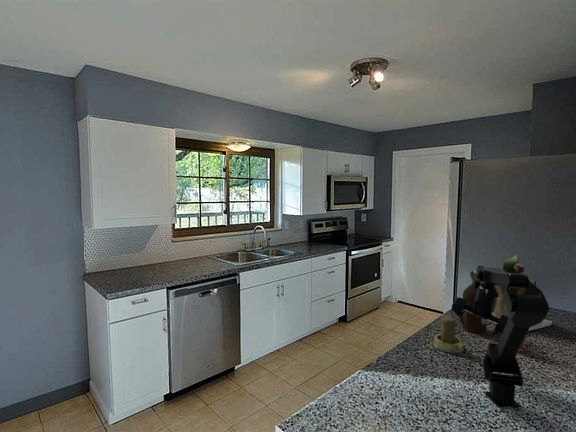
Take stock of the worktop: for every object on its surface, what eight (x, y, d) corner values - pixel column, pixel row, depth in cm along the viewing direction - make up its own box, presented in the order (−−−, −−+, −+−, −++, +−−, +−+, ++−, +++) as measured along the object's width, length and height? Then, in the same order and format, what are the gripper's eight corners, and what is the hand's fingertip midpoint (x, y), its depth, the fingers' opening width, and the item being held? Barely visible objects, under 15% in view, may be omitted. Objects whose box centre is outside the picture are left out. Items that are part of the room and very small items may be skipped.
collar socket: (469, 353, 127) (469, 345, 127) (441, 353, 127) (441, 345, 127) (453, 340, 138) (454, 333, 138) (428, 340, 138) (428, 333, 138)
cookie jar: (470, 316, 166) (473, 253, 164) (501, 309, 177) (504, 250, 175) (522, 335, 144) (527, 263, 142) (554, 326, 155) (558, 258, 152)
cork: (454, 350, 128) (455, 322, 127) (438, 345, 132) (439, 318, 131) (458, 344, 133) (459, 318, 132) (441, 340, 137) (443, 314, 136)
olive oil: (457, 329, 150) (460, 275, 148) (465, 323, 157) (468, 271, 155) (483, 336, 142) (486, 280, 140) (490, 330, 149) (493, 275, 148)
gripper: (523, 297, 112) (512, 331, 120) (465, 276, 124) (458, 308, 131) (514, 316, 105) (503, 350, 113) (453, 292, 117) (447, 324, 125)
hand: (477, 331), depth 121 cm, fingers open, 9 cm apart
